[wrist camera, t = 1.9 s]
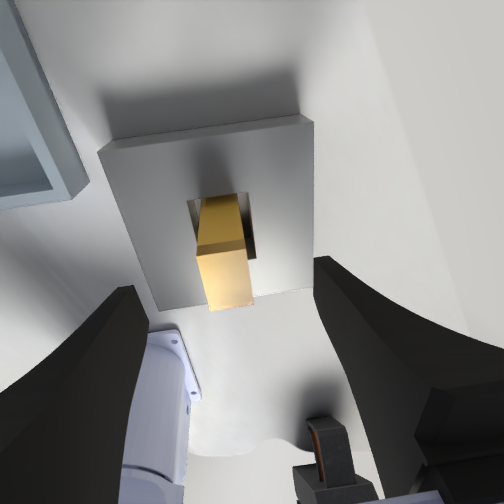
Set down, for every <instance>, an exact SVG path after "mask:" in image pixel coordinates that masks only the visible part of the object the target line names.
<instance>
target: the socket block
mask: <svg viewBox="0 0 504 504" xmlns="http://www.w3.org/2000/svg"><path fill="white" fill-rule="evenodd" d="M97 154H98V156H99V159H100V161H101V164H102V167H103V169H104V172H105V174H106V177H107V179H108V182H109V185H110V187H111V190H112V192H113V195H114V197H115V200H116V203H117V205H118V208H119V210H120V213H121V215H122V218H123V221H124V223H125V226H126V228H127V231H128V233H129V236H130V239H131V241H132V244H133V246H134V249H135V251H136V254H137V257H138V259H139V262H140V264H141V267H142V269H143V272H144V275H145V277H146V280H147V282H148V285H149V287H150V290H151V293H152V295H153V298H154V300H155V303H156V305H157V308H158V311H159V312H160V311H166V310H172V309H179V308H185V307H192V306H198V305H205V304H208V301H207V297H206V293H205V290H204V286H203V282H202V278H201V274H200V270H199V266H198V262H197V259H196V251H197V240H198V230H199V221H198V217H197V212H196V208H195V204H194V199H200V198H207V197H214V196H221V195H228V194H235V193H242V192H247V200H248V208H249V216H250V224H251V232H252V238H247V239H245V245H246V252H247V259H248V266H249V272H250V279H251V286H252V293H253V297H256V296H262V295H269V294H275V293H282V292H288V291H295V290H301V289H307V288H313V236H314V122H313V121H312V120H310V119H308V118H307V117H305V116H303V115H302V114H297V115H290V116H283V117H275V118H268V119H261V120H254V121H247V122H239V123H232V124H225V125H218V126H210V127H203V128H196V129H189V130H182V131H174V132H167V133H160V134H153V135H145V136H138V137H131V138H124V139H117V140H112V141H111V142H110V143H108V144H107V145H106V146H104V147H103V148H102V149H100V150H99V151H98V152H97Z"/></svg>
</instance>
